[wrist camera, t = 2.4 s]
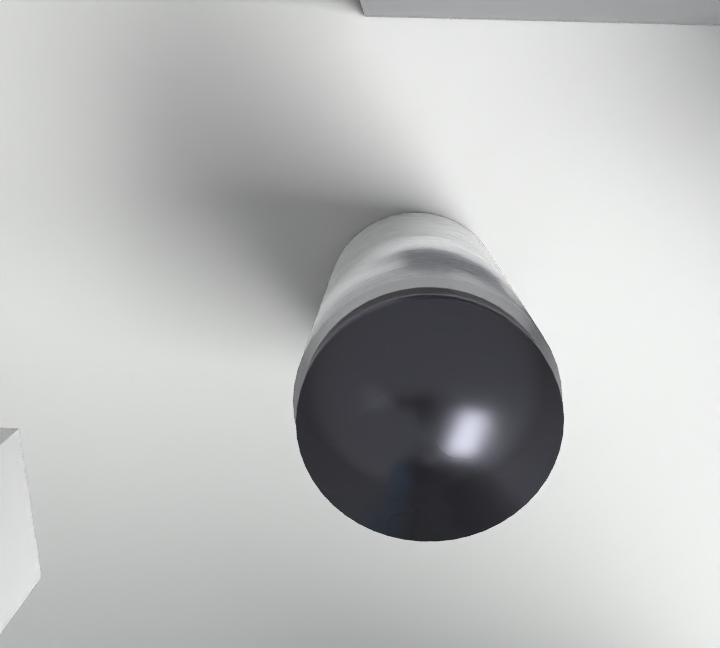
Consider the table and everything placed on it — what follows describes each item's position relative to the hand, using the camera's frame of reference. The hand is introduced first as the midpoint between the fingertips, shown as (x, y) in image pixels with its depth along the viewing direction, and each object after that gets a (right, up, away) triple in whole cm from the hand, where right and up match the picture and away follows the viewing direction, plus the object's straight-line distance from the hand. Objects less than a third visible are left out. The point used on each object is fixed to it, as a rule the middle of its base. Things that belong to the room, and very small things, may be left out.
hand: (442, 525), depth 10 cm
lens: (+1, +4, +13) cm, 14 cm away
